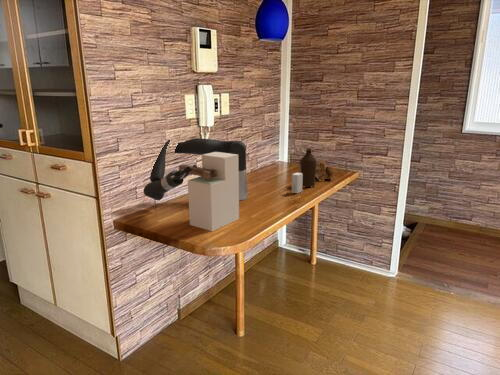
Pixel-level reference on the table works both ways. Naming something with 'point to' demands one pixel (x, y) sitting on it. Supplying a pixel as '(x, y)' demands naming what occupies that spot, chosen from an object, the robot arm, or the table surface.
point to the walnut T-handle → (200, 171)
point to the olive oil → (308, 169)
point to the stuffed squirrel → (324, 171)
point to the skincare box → (297, 182)
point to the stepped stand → (215, 193)
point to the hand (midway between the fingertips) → (193, 167)
